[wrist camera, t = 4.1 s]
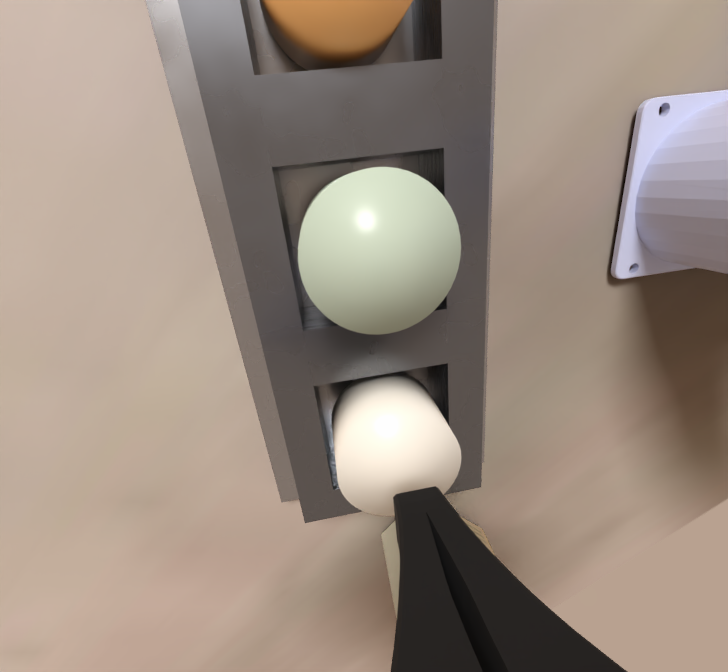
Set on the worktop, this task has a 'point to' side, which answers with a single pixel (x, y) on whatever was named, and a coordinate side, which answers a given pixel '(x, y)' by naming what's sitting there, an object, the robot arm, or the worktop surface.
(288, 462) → the button panel
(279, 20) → the orange button
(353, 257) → the sage button
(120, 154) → the worktop surface
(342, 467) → the ivory button
